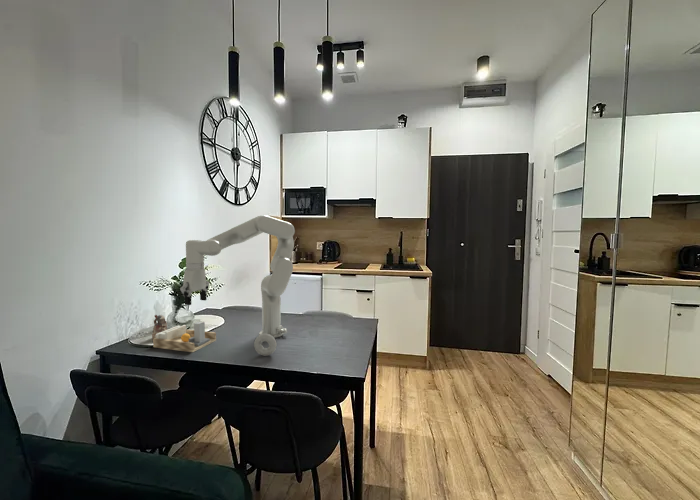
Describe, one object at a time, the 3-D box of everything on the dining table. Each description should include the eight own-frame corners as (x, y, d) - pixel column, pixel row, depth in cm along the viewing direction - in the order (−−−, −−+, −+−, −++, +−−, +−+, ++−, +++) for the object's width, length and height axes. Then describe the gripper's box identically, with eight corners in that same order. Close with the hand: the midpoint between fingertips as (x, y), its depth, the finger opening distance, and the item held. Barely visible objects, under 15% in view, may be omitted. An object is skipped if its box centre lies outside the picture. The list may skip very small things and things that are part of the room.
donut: (253, 356, 142) (252, 334, 141) (255, 353, 145) (255, 332, 144) (275, 357, 141) (275, 335, 140) (277, 354, 145) (277, 332, 144)
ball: (192, 340, 157) (192, 332, 157) (186, 343, 153) (185, 335, 153) (185, 339, 158) (185, 331, 158) (179, 342, 154) (178, 334, 154)
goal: (187, 336, 164) (187, 324, 164) (165, 345, 150) (165, 333, 150) (178, 334, 165) (178, 323, 165) (156, 344, 152) (155, 332, 151)
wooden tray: (216, 340, 161) (215, 332, 161) (193, 352, 146) (192, 343, 145) (179, 336, 166) (179, 328, 166) (153, 347, 151) (153, 338, 151)
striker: (209, 340, 157) (209, 320, 156) (198, 346, 149) (197, 325, 149) (200, 339, 158) (200, 319, 158) (188, 345, 151) (188, 324, 150)
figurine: (161, 341, 159) (160, 317, 158) (148, 339, 161) (147, 316, 160) (171, 336, 166) (171, 313, 165) (159, 335, 168) (159, 312, 167)
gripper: (201, 264, 160) (202, 298, 162) (173, 268, 144) (174, 306, 145) (214, 264, 158) (215, 299, 159) (187, 269, 142) (188, 307, 143)
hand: (195, 302), depth 152 cm, fingers open, 9 cm apart
